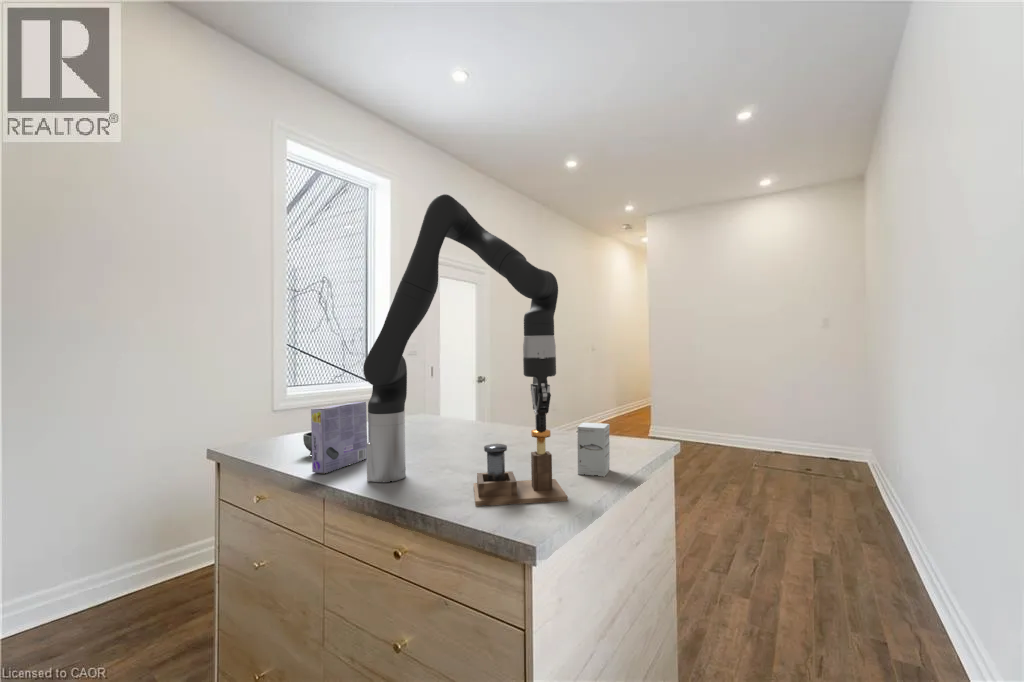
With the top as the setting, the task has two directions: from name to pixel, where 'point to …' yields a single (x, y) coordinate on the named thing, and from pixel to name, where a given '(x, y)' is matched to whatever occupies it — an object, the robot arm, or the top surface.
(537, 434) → the lock pin
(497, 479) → the spigot
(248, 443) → the top surface
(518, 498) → the dock mount
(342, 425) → the cake pan box
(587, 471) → the supplement box
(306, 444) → the mortar and pestle
